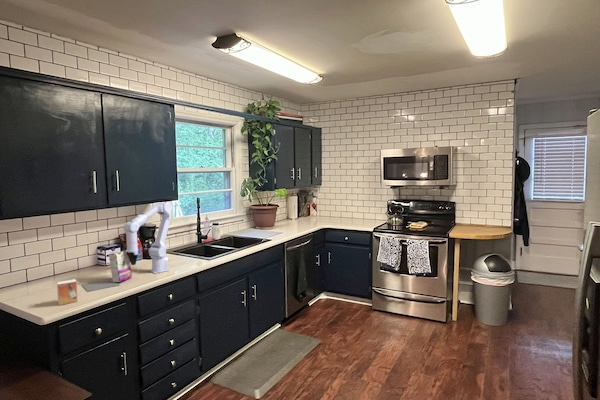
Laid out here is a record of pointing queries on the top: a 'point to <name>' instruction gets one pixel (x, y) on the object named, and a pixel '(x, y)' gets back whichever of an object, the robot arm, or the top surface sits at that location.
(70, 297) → the small box
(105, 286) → the mat
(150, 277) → the top surface
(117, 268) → the candy bar box
